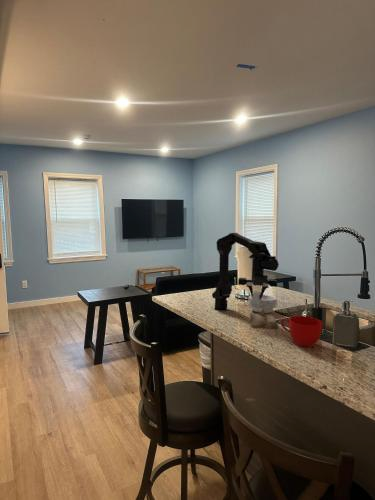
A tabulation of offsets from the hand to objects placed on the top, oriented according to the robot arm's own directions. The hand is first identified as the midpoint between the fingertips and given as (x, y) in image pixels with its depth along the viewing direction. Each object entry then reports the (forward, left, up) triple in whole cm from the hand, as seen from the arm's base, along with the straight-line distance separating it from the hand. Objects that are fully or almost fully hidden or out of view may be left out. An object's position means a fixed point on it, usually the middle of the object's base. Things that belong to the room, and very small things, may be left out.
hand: (256, 299), depth 168 cm
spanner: (0, 0, -1) cm, 1 cm away
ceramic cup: (+17, -26, -12) cm, 33 cm away
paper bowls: (+5, +20, -12) cm, 24 cm away
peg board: (+4, 0, -11) cm, 12 cm away
